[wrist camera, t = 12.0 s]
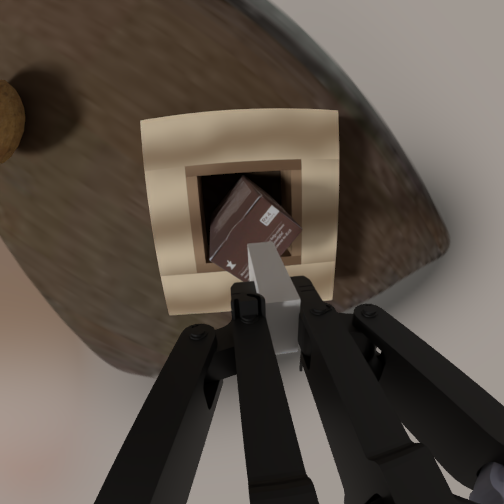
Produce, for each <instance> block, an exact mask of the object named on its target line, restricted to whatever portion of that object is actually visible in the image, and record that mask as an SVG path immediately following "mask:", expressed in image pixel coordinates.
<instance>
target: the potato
mask: <svg viewBox="0 0 504 504" xmlns="http://www.w3.org/2000/svg"><path fill="white" fill-rule="evenodd" d="M24 125H25V111H24V106H23V103H22V101H21V99H20V97H19V95H18V93H17V91H16V90H15V89H14V88H13V87H12V86H11V85H10V84H8V83H7V82H6V81H5V80H0V164H2V163H4V162H5V161H6V160H8V159H9V158H10V157H11V156H12V154H13V153H14V151H15V150H16V148H17V147H18V146H19V143H20V140H21V137H22V135H23V132H24Z"/></svg>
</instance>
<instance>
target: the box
mask: <svg viewBox="0 0 504 504" xmlns="http://www.w3.org/2000/svg"><path fill="white" fill-rule="evenodd" d="M302 230H303V229H302V228H301V227H300V225H299V224H298V223H297V222H296V221H295V220H294V219H293V218H292V217H291V216H290V215H289V214H288V213H287V212H286V211H285V210H284V209H283V208H282V206H280V205H279V204H278V203H277V202H276V201H275V200H274V199H273V197H272V196H271V195H269V194H268V193H267V192H266V191H264V190H263V189H262V188H260V187H259V186H258V185H257V184H255V183H254V182H253V181H251V180H250V179H249V178H248V177H246V176H245V175H242V176H241V177H240V178H239V179H238V180H237V182H236V183H235V184H234V185H233V187H232V188H231V189H230V190H229V192H228V193H227V194H226V195H225V197H224V198H223V199H222V201H221V202H220V203H219V205H218V206H217V207H216V209H215V210H214V211H213V213H212V214H211V220H210V259H209V260H210V261H211V262H213V263H214V264H216V265H217V266H219V267H221V268H222V269H224V270H225V271H227V272H229V273H230V274H232V275H233V276H235V277H237V278H238V279H240V280H241V281H243V282H247V281H250V280H249V263H248V246H247V244H249V243H261V242H273V243H274V245H275V247H276V249H277V251H278V254H279V256H281V255H282V254H283V253H284V252H285V250H286V249H287V248H288V247H289V246H290V245H291V243H292V242H293V241H294V240H295V239H296V237H297V236H298V235H299V234H300V233H301V231H302Z"/></svg>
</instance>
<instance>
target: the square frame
mask: <svg viewBox="0 0 504 504" xmlns="http://www.w3.org/2000/svg"><path fill="white" fill-rule="evenodd" d="M140 122H141V137H142V149H143V160H144V170H145V179H146V187H147V195H148V203H149V210H150V217H151V224H152V230H153V236H154V242H155V248H156V254H157V259H158V264H159V270H160V275H161V280H162V284H163V289H164V294H165V298H166V303H167V307H168V312H169V315H181V314H197V313H211V312H224V311H231V303H230V302H231V290H230V288H231V286H232V285H233V284H234V283H236V282H243V281H241V280H240V279H238V278H237V277H235V276H233V275H232V274H230V273H229V272H227V271H225V270H224V269H222V268H221V267H219V266H217V265H216V264H214V263H213V262H211V261H210V260H209V259H210V245H208V241H207V232H206V222H205V212H204V201H203V190H202V178H201V176H203V175H215V174H227V173H241V172H258V171H280V170H281V206H282V208H283V209H284V210H285V211H286V212H287V213H288V214H289V215H290V216H291V217H292V218H293V219H294V220H295V221H296V222H297V223H298V224H299V225H300V227H301V228H302V229H303V230H302V231H301V233H300V234H299V235H298V236H297V237H296V239H295V240H294V241H293V242H292V243H291V245H290V246H289V247H288V248H287V249H286V250H285V252H284V253H283V254H282V255H281V256H280V258H281V260H282V262H283V264H284V266H285V268H286V270H287V272H288V274H289V276H290V277H293V276H302V275H303V276H305V277H307V278H308V279H310V280H311V282H312V284H313V286H314V287H315V289H316V290H317V292H318V294H319V295H320V297H321V299H322V301H327V300H332V295H333V285H334V274H335V261H336V247H337V229H338V205H339V124H338V111H336V110H320V109H285V108H274V109H239V110H223V111H210V112H199V113H190V114H181V115H174V116H166V117H160V118H153V119H147V120H141V121H140Z"/></svg>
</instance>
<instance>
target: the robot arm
mask: <svg viewBox="0 0 504 504" xmlns="http://www.w3.org/2000/svg"><path fill="white" fill-rule="evenodd" d="M247 246H248V263H249V280H250V281H247V282H236V283H234V284H233V285H232V286H231V288H230V290H231V302H230V303H231V313H232V320H231V322H230V323H229V324H228V325H226V326H225V327H222V328H220V329H217V330H214V328H213V327H211V326H210V325H207V324H195V325H191V326H189V327H187V328H185V329H184V331H183V332H182V333H181V335H180V337H179V339H178V340H177V342H176V344H175V346H174V348H173V350H172V351H171V353H170V355H169V357H168V359H167V361H166V363H165V365H164V366H163V368H162V370H161V372H160V374H159V376H158V378H157V380H156V382H155V384H154V385H153V387H152V389H151V391H150V393H149V395H148V397H147V399H146V400H145V402H144V404H143V406H142V409H141V410H140V412H139V414H138V416H137V418H136V420H135V422H134V424H133V426H132V428H131V430H130V431H129V433H128V435H127V437H126V439H125V441H124V444H123V445H122V447H121V449H120V451H119V453H118V455H117V457H116V459H115V461H114V464H113V465H112V467H111V469H110V471H109V473H108V475H107V477H106V479H105V482H104V484H103V486H102V488H101V490H100V492H99V494H98V496H97V498H96V500H95V502H94V504H186V503H187V499H188V496H189V493H190V490H191V486H192V483H193V480H194V477H195V474H196V470H197V467H198V464H199V461H200V457H201V454H202V451H203V447H204V444H205V441H206V437H207V434H208V431H209V427H210V424H211V421H212V417H213V414H214V411H215V408H216V404H217V401H218V398H219V394H220V391H221V388H222V384H223V379H224V378H227V377H230V376H233V375H236V374H237V381H238V392H239V403H240V413H241V422H242V432H243V441H244V451H245V459H246V467H247V476H248V485H249V486H248V487H249V498H250V504H319V502H318V498H317V495H316V491H315V488H314V485H313V482H312V481H311V479H310V478H309V477H308V476H307V474H306V472H305V468H304V464H303V461H302V456H301V452H300V448H299V445H298V441H297V437H296V433H295V429H294V425H293V422H292V418H291V414H290V410H289V406H288V402H287V398H286V394H285V391H284V386H283V382H282V378H281V375H280V371H279V367H278V363H277V359H276V354H283V353H291V352H298V343H299V345H300V348H301V355H300V371H302V367H303V368H304V371H305V374H306V377H307V379H308V382H309V385H310V388H311V391H312V394H313V397H314V400H315V403H316V406H317V409H318V412H319V415H320V418H321V421H322V424H323V427H324V430H325V433H326V436H327V439H328V442H329V445H330V448H331V451H332V454H333V457H334V460H335V463H336V466H337V469H338V472H339V475H340V479H341V482H342V485H343V488H344V493H345V497H344V504H504V406H503V405H502V404H501V403H499V402H498V401H497V400H496V399H495V398H493V397H492V396H491V395H490V394H489V393H487V392H486V391H485V390H484V389H483V388H482V387H480V386H479V385H478V384H477V383H476V382H474V381H473V380H472V379H471V378H469V377H468V376H467V375H466V374H465V373H463V372H462V371H461V370H460V369H458V368H457V367H456V366H455V365H454V364H452V363H451V362H450V361H449V360H447V359H446V358H445V357H444V356H442V355H441V354H440V353H438V352H437V351H436V350H435V349H433V348H432V347H431V346H430V345H428V344H427V343H426V342H425V341H423V340H422V339H420V338H419V337H418V336H417V335H415V334H414V333H413V332H412V331H410V330H409V329H408V328H407V327H405V326H404V325H403V324H401V323H400V322H399V321H397V320H396V319H394V318H393V317H392V316H391V315H390V314H388V313H387V312H386V311H384V310H383V309H382V308H380V307H378V306H376V305H372V304H362V305H359V306H357V307H356V308H355V309H354V314H345V313H338V312H336V310H335V308H334V307H333V306H332V305H330V304H328V303H325V302H323V301H322V299H321V297H320V295H319V294H318V292H317V290H316V289H315V287H314V286H313V284H312V282H311V280H310V279H308V278H307V277H305V276H303V275H302V276H293V277H290V276H289V274H288V272H287V270H286V268H285V266H284V264H283V262H282V260H281V258H280V256H279V254H278V251H277V249H276V247H275V245H274V243H273V242H261V243H249V244H247ZM377 347H378V348H379V349H380V350H381V354H380V353H378V352H377V351H376V348H377ZM402 423H403V425H404V426H405V427H406V428H407V429H408V430H409V431H410V432H411V433H412V434H413V435H414V436H415V437H416V439H417V440H418V441H419V442H420V443H414V442H412V441H411V440H410V438H409V436H408V434H407V433H406V431H405V429H404V427H403V425H402ZM434 458H435V459H436V460H437V461H438V462H439V463H440V464H441V466H443V468H444V469H445V470H446V471H447V472H448V473H449V474H450V475H451V476H452V477H453V478H455V479H456V480H457V481H458V482H460V483H461V484H463V485H464V486H466V487H468V488H470V489H472V490H473V491H472V492H471V494H470V496H469V500H468V499H465V498H462V497H460V496H457V495H454V494H452V492H451V490H450V488H449V486H448V484H447V482H446V480H445V478H444V476H443V474H442V472H441V470H440V469H439V467H438V465H437V463H436V461H435V459H434Z"/></svg>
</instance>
